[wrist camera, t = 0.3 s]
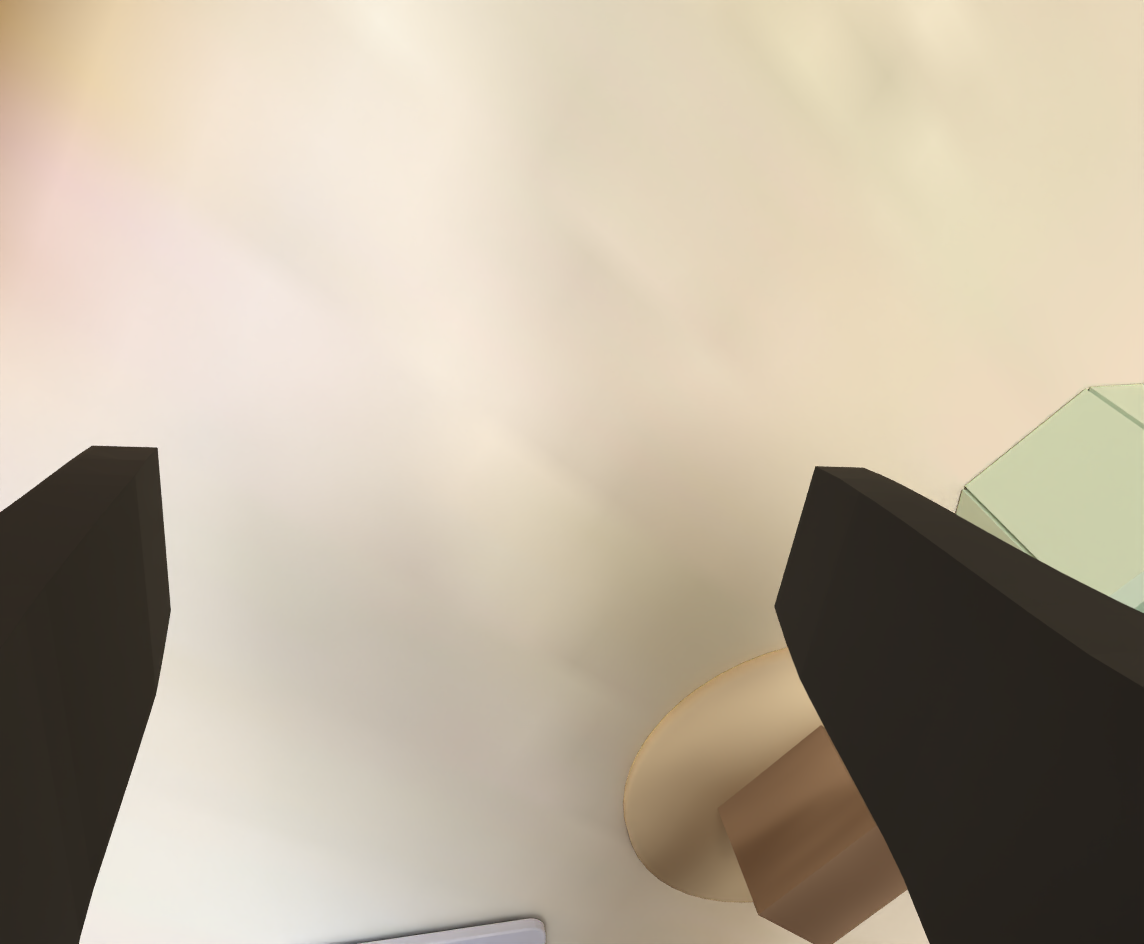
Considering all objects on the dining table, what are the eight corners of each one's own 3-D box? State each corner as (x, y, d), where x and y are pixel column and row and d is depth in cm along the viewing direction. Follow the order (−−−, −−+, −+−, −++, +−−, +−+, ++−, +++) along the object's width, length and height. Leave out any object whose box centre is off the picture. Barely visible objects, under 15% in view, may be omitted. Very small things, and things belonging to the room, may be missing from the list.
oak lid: (1013, 732, 31) (1100, 846, 27) (766, 918, 33) (815, 1044, 30) (819, 570, 26) (894, 683, 22) (547, 803, 28) (575, 938, 25)
